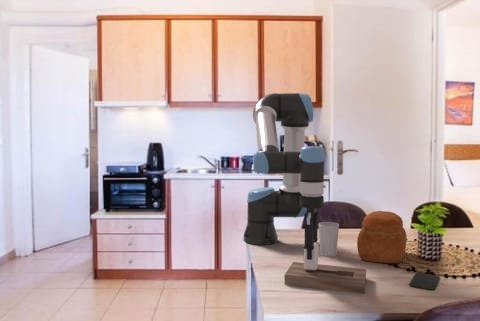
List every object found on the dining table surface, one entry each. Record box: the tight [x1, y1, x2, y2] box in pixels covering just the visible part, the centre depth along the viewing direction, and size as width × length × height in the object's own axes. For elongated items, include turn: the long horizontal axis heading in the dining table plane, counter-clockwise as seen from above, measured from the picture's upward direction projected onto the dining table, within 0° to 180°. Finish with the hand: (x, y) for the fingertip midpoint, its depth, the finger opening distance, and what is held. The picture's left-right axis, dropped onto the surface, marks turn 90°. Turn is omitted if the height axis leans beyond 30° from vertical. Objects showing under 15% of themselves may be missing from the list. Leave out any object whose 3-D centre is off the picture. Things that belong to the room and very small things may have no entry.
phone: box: [408, 272, 441, 291], centre depth 136 cm, size 7×1×15 cm
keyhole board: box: [284, 261, 367, 294], centre depth 136 cm, size 14×24×3 cm, turn 72°
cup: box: [318, 221, 340, 257], centre depth 167 cm, size 8×8×12 cm
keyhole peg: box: [303, 241, 319, 272], centre depth 137 cm, size 4×4×12 cm
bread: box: [356, 210, 408, 264], centre depth 165 cm, size 18×22×17 cm
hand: (310, 266), depth 138 cm, fingers closed on keyhole peg, 4 cm apart
